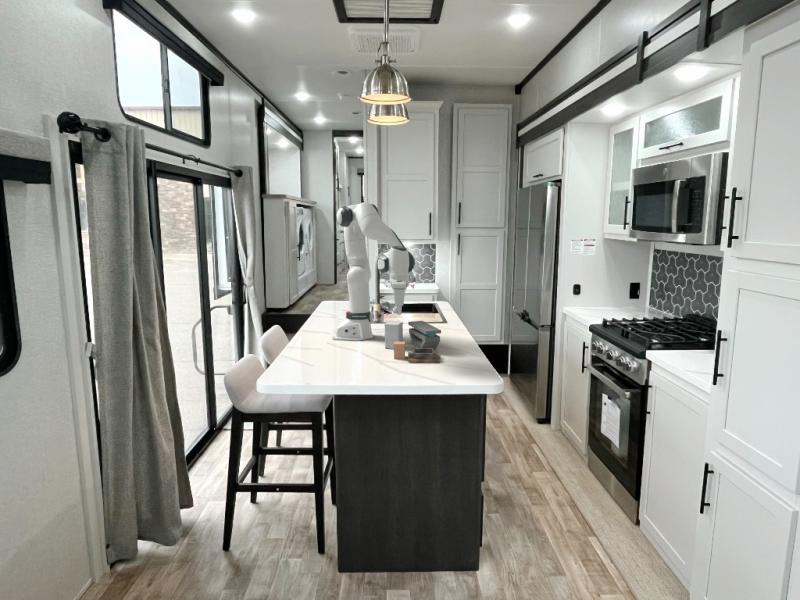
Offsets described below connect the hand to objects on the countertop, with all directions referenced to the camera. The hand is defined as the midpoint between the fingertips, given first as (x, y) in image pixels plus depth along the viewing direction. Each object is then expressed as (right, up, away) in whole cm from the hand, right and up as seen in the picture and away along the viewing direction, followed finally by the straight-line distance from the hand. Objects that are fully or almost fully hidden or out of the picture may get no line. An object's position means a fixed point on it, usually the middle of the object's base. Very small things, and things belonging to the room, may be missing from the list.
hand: (399, 312), depth 225 cm
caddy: (+11, -21, +1) cm, 24 cm away
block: (0, -21, +3) cm, 21 cm away
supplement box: (-3, -18, +22) cm, 29 cm away
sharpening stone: (+12, -18, +23) cm, 32 cm away
